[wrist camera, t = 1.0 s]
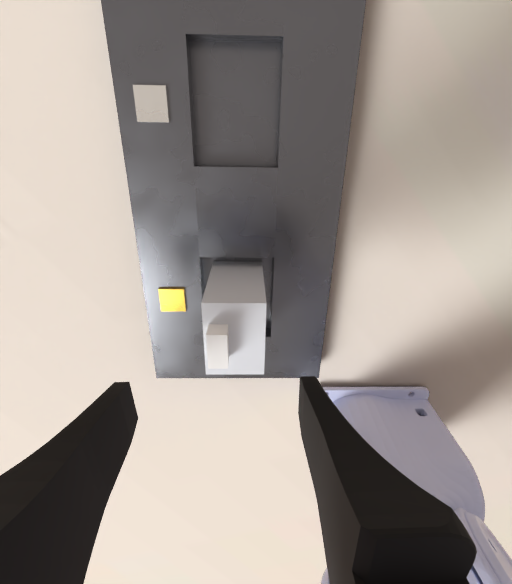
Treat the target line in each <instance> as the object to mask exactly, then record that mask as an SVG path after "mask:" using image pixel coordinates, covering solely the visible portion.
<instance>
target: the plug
mask: <svg viewBox="0 0 512 584" xmlns="http://www.w3.org/2000/svg"><path fill="white" fill-rule="evenodd" d="M266 304H267V303H266V294H265V285H264V276H263V267H262V262H235V261H213V264H212V268H211V271H210V275H209V278H208V281H207V285H206V288H205V292H204V295H203V299H202V302H201V308H202V324H203V339H204V355H205V370H206V375H235V374H264V364H265V334H266Z"/></svg>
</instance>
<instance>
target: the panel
mask: <svg viewBox="0 0 512 584" xmlns="http://www.w3.org/2000/svg"><path fill="white" fill-rule="evenodd" d="M101 4H102V10H103V17H104V24H105V31H106V38H107V44H108V51H109V58H110V65H111V71H112V78H113V85H114V92H115V99H116V105H117V112H118V119H119V126H120V133H121V139H122V146H123V153H124V160H125V167H126V173H127V180H128V187H129V194H130V201H131V207H132V214H133V221H134V228H135V234H136V241H137V248H138V255H139V262H140V268H141V275H142V282H143V289H144V296H145V302H146V309H147V316H148V323H149V330H150V336H151V343H152V350H153V357H154V364H155V370H156V377H157V378H300V377H304V376H315V377H316V378H319V371H320V363H321V355H322V347H323V339H324V331H325V323H326V315H327V307H328V299H329V291H330V283H331V275H332V267H333V259H334V252H335V244H336V236H337V228H338V220H339V212H340V204H341V196H342V188H343V180H344V172H345V164H346V156H347V148H348V140H349V132H350V124H351V116H352V108H353V100H354V92H355V84H356V76H357V68H358V60H359V52H360V44H361V36H362V28H363V20H364V13H365V5H366V0H101ZM213 261H235V262H262V267H263V276H264V285H265V294H266V303H267V304H266V334H265V364H264V374H235V375H206V370H205V355H204V339H203V324H202V308H201V302H202V299H203V295H204V292H205V288H206V285H207V281H208V278H209V275H210V271H211V268H212V264H213Z"/></svg>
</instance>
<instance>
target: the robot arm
mask: <svg viewBox="0 0 512 584" xmlns="http://www.w3.org/2000/svg"><path fill="white" fill-rule="evenodd" d="M326 392H327V393H326ZM410 392H411V393H410ZM428 397H429V390H428V389H427V388H426V387H322V386H321V384H320V383H319V381H318V379H317V378H316V377H315V376H304V377H300V390H299V412H298V413H299V421H300V428H301V435H302V440H303V444H304V448H305V452H306V456H307V460H308V464H309V468H310V472H311V476H312V480H313V484H314V488H315V493H316V498H317V503H318V509H319V516H320V522H321V528H322V535H323V542H324V548H325V555H326V562H327V569H326V570H325V572H324V573H323V577H322V581H321V584H512V560H511V558H510V557H509V555H508V554H507V553H506V551H505V550H504V548H503V547H502V545H501V544H500V543H499V541H498V540H497V539H496V537H495V536H494V535H493V533H492V532H491V531H490V529H489V528H488V527H487V526H486V525H485V523H484V517H485V503H484V497H483V493H482V489H481V486H480V483H479V480H478V477H477V475H476V473H475V470H474V468H473V466H472V464H471V463H470V461H469V459H468V458H467V456H466V455H465V453H464V452H463V451H462V449H461V448H460V446H459V445H458V443H457V442H456V440H455V439H454V437H453V436H452V435H451V433H450V432H449V430H448V429H447V427H446V426H445V424H444V423H443V422H442V420H441V419H440V417H439V416H438V414H437V413H436V411H435V410H434V409H433V407H432V406H431V404H430V403H429V401H428ZM137 420H138V416H137V412H136V408H135V404H134V400H133V396H132V392H131V387H130V383H129V382H115V383H114V384H112V385H111V386H110V387H109V388H108V389H107V390H106V391H105V392H104V393H103V394H102V395H101V396H100V397H99V398H97V399H96V400H95V401H94V402H93V403H92V404H91V405H90V406H89V407H88V408H87V409H86V410H85V411H83V412H82V413H81V414H80V415H79V416H78V417H77V418H76V419H75V420H74V421H72V422H71V423H70V424H69V425H68V426H67V427H65V428H64V429H63V430H62V431H61V432H59V433H58V434H57V435H56V436H55V437H54V438H52V439H51V440H50V441H49V442H47V443H46V444H45V445H43V446H42V447H41V448H40V449H38V450H37V451H35V452H34V453H33V454H31V455H30V456H29V457H27V458H26V459H25V460H23V461H22V462H20V463H19V464H17V465H16V466H14V467H13V468H11V469H10V470H8V471H7V472H5V473H4V474H2V475H1V476H0V584H83V583H84V579H85V575H86V571H87V568H88V564H89V560H90V557H91V553H92V550H93V546H94V543H95V539H96V536H97V533H98V529H99V526H100V523H101V520H102V516H103V513H104V510H105V507H106V504H107V502H108V499H109V496H110V494H111V491H112V489H113V486H114V484H115V482H116V479H117V477H118V474H119V472H120V469H121V467H122V465H123V462H124V460H125V457H126V455H127V452H128V450H129V447H130V445H131V442H132V439H133V435H134V432H135V428H136V424H137Z"/></svg>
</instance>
